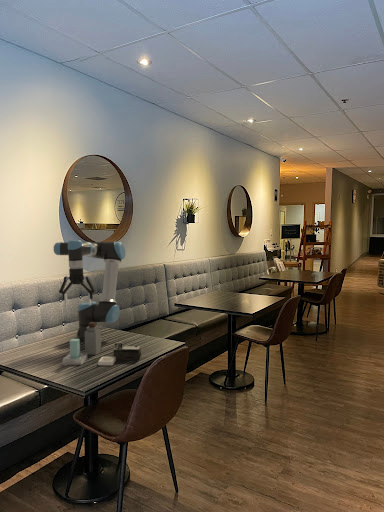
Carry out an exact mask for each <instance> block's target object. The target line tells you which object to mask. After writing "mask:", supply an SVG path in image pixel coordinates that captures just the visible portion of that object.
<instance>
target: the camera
mask: <svg viewBox="0 0 384 512" xmlns="http://www.w3.org/2000/svg"><path fill="white" fill-rule="evenodd" d="M112 354H113V356H112V357H116V361H138V362H139V361H140V359H141V356H142V349H141V346H137V345H134V346H133V345H132V346H129V345H128V346H127V345H125V346H123V342H122V341H121V342H118V341H117V342H115V343H114V348H113V351H112Z"/></svg>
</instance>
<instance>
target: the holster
mask: <svg viewBox="0 0 384 512" xmlns="http://www.w3.org/2000/svg"><path fill="white" fill-rule="evenodd" d="M115 362H117V360H116V357H113V356H101V357H100V358H99V360H98V362H97V363H98V364H97V365H98V366H113V365H114V364H115Z"/></svg>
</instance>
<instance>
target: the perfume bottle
mask: <svg viewBox="0 0 384 512" xmlns="http://www.w3.org/2000/svg"><path fill="white" fill-rule="evenodd" d="M86 329H87V331H85V340H84V353H87V355H98V354H100V353H101V352H102V335H101V333H102V332H101V329H99V325H97V326H96V322H90V323H89V326H88V327H87V328H86Z"/></svg>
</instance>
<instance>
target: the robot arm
mask: <svg viewBox="0 0 384 512" xmlns="http://www.w3.org/2000/svg"><path fill="white" fill-rule="evenodd" d="M53 253H54V254H55V255H56V256H68V272H69V273H68V274H69V276H66V275H65V276H64V277H63V282H62V284H61V287H60V288H59V290H58V293H59V294H62V300H64V306H68V305H69V304H68V303H69V302H68V300H69V299H68V293H67V291H68V290H69V289H70V288H71V287H72V286H73V285H81V286H82V287H83V288H84V289H85V291H86V292H87V295H88V297H87V299H88V300H87V302H83V303H80V304H79V305H78V306H77V307H78V310H77V312H78V328H77V331H76V332H77V333H76V339H80V341H85V331H87V329H86V328H87V327H88V326H89V323H90V322H96V326H98V323H106V324H109V323H110V324H111V323H112V324H113V323H115V322H117V320H118V319H119V316H120V312H121V311H120V306H119V305H118V302H117V301H116V295H117V294H116V293H117V284H118V273H119V267H120V266H119V265H120V264H121V263H122V260H124V259H125V257H126V249H125V245H124V244H123V243H122V242H121V241H97V242H89V241H83V242H82V240H80V239H73V240H68V242H65V241H62V242H56V243H54V245H53ZM83 256H85V257H88V258H93V259H102V260H103V262H104V264H105V269H104V275H103V285H102V295H101V299H100V300H99V301H98V303H97V301H94V300H93V299H94V296H93V293H96V288H95V286H94V285H93V282H92V281H91V279H90V275H87V276H84V268H83V267H84V260H83ZM84 280H85V281H86V282H85V281H84ZM68 281H70V282H69V283H68V285H67V282H68ZM86 283H87V284H86ZM92 300H93V301H92Z"/></svg>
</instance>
